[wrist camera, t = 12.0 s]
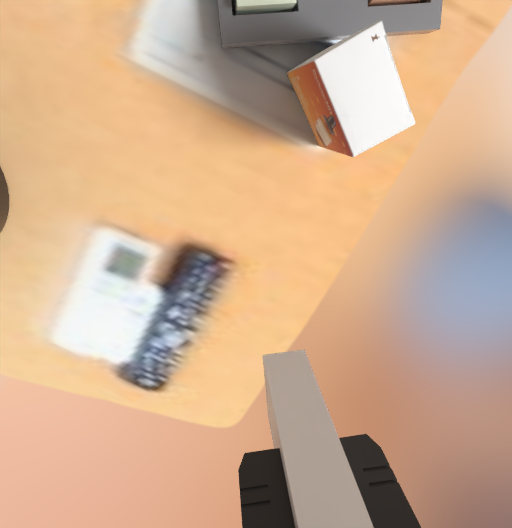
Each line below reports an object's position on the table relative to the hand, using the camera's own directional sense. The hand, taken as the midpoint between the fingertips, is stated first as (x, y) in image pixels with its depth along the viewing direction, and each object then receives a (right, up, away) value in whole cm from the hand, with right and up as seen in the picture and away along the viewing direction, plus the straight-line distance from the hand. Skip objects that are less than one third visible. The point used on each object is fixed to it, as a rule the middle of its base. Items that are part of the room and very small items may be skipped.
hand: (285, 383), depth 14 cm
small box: (+6, +21, +24) cm, 33 cm away
